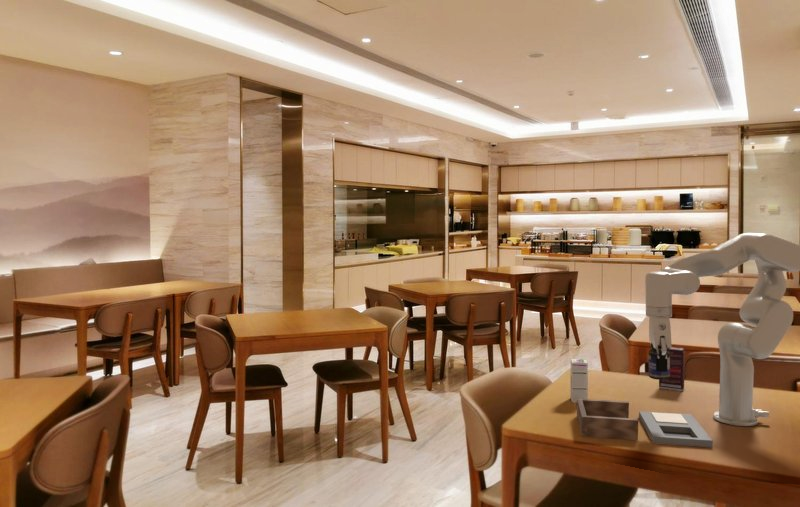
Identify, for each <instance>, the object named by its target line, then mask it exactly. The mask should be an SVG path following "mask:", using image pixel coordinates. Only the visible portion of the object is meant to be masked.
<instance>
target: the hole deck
mask: <svg viewBox="0 0 800 507" xmlns="http://www.w3.org/2000/svg"><path fill="white" fill-rule="evenodd" d="M638 418H639V420H640V422H641V423H642V425H643V427H644V429H645V431H646V432H648V433H647V435H648V434H649V435H648V436H649V439H650V440H651V442H652V444H659V445H673V446H687V447H701V448H702V447H703V448H713V447H714V445H713V443H714V442H713V441H714V440H713V439H712V437H711V436H710V435H709V434H708V433H707V431H706V430H705V429H704V428H703V427H702V426H701V424H700V423H699V421H697V419H696V418H695V417H694V415H693V414H691V413H678V412H675V413H674V412H660V411H658V412H657V411H647V410H646V411H645V410H643V411H642V410H639V411H638Z"/></svg>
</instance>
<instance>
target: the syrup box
mask: <svg viewBox="0 0 800 507" xmlns="http://www.w3.org/2000/svg"><path fill="white" fill-rule="evenodd" d="M587 361H588V360H586V359H584V358H583V359H582V358H570V402H571V403H576V404H577V399H588V398H589V390H588V389H589V386H588V385H589V383H588V382H589V375H588V373H589V371H588V369H589V366H588V362H587Z"/></svg>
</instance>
